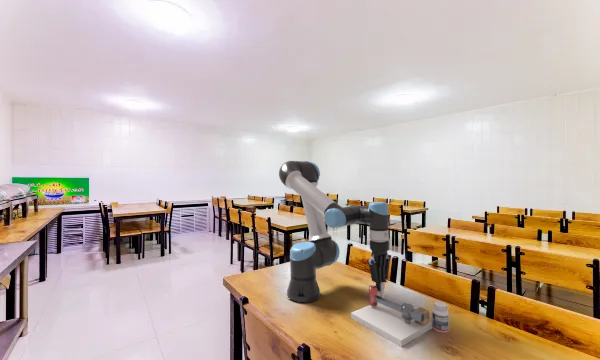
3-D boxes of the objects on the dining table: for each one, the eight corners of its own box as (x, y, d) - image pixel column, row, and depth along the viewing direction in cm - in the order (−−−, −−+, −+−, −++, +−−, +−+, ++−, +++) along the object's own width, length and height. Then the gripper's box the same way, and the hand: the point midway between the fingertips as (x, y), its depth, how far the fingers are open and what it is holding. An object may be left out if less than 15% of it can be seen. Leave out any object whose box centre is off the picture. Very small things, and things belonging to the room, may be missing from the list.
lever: (366, 304, 108) (366, 286, 108) (373, 301, 111) (373, 284, 111) (419, 328, 91) (419, 307, 90) (425, 324, 93) (425, 304, 93)
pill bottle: (434, 323, 99) (434, 299, 99) (450, 328, 96) (450, 303, 96) (430, 329, 95) (430, 304, 95) (447, 335, 92) (447, 308, 92)
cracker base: (350, 317, 104) (350, 308, 104) (381, 304, 114) (381, 295, 114) (401, 346, 86) (401, 334, 86) (432, 328, 96) (432, 317, 96)
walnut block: (414, 322, 97) (414, 309, 97) (420, 319, 99) (419, 306, 99) (423, 326, 94) (423, 313, 94) (429, 323, 96) (429, 310, 96)
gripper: (376, 244, 104) (377, 305, 104) (396, 239, 111) (397, 296, 111) (361, 240, 110) (362, 299, 110) (381, 236, 117) (382, 290, 117)
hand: (380, 297), depth 111 cm, fingers closed
